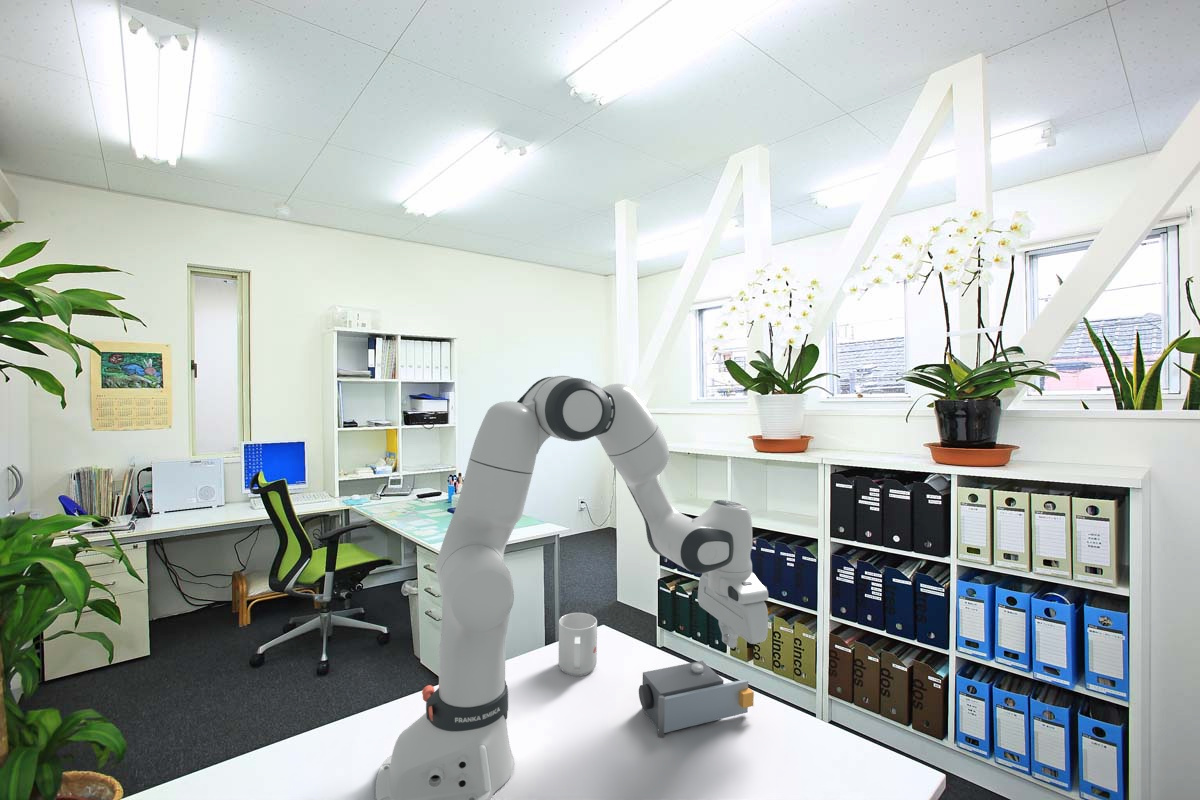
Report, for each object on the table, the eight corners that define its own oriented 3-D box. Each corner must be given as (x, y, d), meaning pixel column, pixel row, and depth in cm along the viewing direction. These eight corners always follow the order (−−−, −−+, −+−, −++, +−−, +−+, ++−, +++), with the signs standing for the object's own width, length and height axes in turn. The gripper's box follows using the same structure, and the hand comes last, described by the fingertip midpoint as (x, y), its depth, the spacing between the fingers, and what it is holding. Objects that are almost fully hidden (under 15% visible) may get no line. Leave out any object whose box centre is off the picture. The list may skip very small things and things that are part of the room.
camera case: (654, 733, 104) (655, 690, 104) (636, 709, 111) (637, 669, 111) (722, 716, 109) (723, 676, 109) (701, 695, 117) (702, 657, 116)
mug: (559, 657, 132) (559, 612, 131) (596, 657, 132) (596, 612, 131) (556, 685, 120) (557, 635, 119) (597, 685, 120) (597, 636, 119)
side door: (662, 742, 101) (663, 703, 101) (656, 734, 104) (657, 696, 103) (753, 719, 108) (753, 683, 108) (745, 712, 111) (746, 676, 110)
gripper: (690, 564, 121) (690, 625, 122) (746, 599, 102) (745, 671, 103) (715, 561, 124) (714, 621, 124) (774, 594, 104) (773, 665, 105)
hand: (729, 644), depth 113 cm, fingers closed
